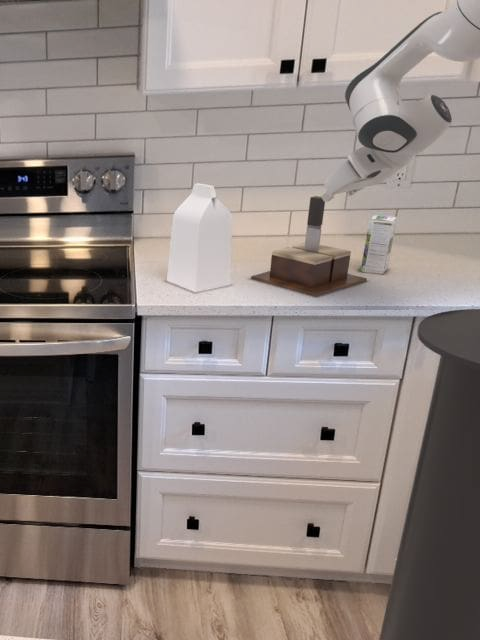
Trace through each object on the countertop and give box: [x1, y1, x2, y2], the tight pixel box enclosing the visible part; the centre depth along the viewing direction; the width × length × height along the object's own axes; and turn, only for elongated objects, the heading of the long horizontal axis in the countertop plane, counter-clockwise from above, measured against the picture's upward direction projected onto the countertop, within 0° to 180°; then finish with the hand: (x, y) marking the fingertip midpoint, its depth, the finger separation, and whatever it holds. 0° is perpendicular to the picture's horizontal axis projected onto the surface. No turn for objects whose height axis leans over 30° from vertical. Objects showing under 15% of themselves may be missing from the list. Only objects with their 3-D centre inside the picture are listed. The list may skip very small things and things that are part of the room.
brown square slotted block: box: [250, 242, 367, 298], centre depth 181 cm, size 20×20×8 cm
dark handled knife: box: [304, 195, 326, 253], centre depth 177 cm, size 4×2×15 cm, turn 31°
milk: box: [166, 182, 233, 293], centre depth 180 cm, size 12×12×26 cm
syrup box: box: [360, 214, 398, 275], centre depth 184 cm, size 6×6×14 cm
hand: (336, 196), depth 168 cm, fingers open, 8 cm apart
